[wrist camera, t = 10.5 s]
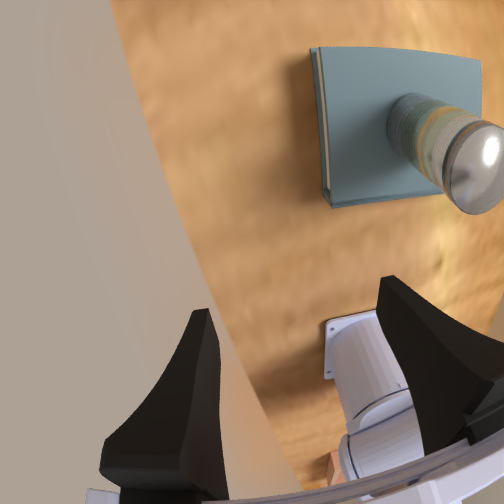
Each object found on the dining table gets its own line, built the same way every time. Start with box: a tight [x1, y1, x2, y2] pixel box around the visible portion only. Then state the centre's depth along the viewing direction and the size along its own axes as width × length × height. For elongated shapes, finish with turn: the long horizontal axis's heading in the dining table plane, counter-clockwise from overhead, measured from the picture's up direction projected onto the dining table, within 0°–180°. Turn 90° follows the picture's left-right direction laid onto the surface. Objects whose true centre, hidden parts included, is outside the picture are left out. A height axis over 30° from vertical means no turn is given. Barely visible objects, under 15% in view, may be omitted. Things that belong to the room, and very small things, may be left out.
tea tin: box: [386, 93, 504, 215], centre depth 14 cm, size 5×5×7 cm
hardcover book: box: [311, 47, 482, 209], centre depth 18 cm, size 10×12×2 cm
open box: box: [326, 451, 346, 486], centre depth 52 cm, size 17×17×4 cm
